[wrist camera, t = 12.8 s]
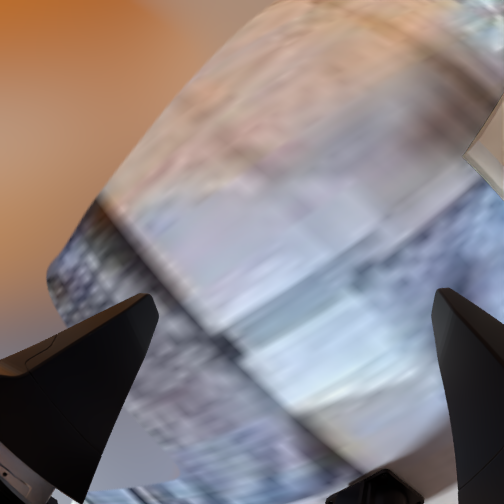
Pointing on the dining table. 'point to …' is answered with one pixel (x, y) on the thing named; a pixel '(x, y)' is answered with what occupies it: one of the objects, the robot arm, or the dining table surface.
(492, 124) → the box
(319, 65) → the dining table surface
